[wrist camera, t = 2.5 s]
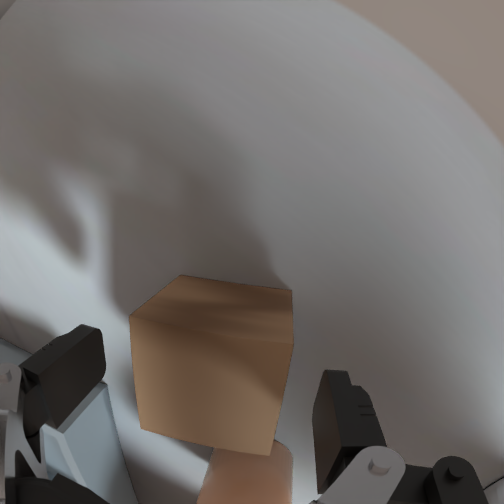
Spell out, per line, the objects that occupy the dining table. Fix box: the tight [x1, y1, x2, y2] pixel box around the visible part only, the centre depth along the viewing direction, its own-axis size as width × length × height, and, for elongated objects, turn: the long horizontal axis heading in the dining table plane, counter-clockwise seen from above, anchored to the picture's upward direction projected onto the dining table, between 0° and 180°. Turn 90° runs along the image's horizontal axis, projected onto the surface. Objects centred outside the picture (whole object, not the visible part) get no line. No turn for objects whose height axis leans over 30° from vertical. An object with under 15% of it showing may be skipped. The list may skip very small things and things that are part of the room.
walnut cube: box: [129, 275, 294, 456], centre depth 11 cm, size 5×5×5 cm
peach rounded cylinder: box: [196, 440, 293, 504], centre depth 12 cm, size 5×5×7 cm
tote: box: [0, 338, 139, 504], centre depth 15 cm, size 14×18×5 cm
